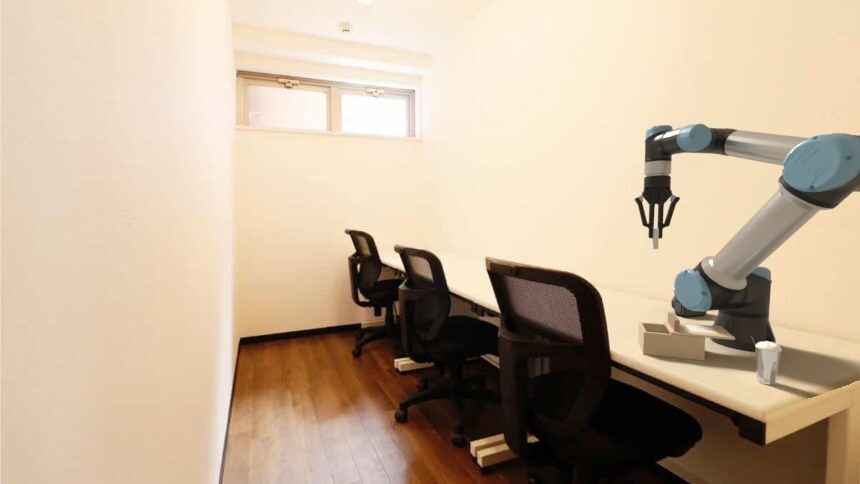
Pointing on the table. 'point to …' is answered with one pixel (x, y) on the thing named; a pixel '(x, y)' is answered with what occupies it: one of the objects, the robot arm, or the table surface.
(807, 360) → the table surface
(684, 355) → the box
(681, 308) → the camera
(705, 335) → the lid
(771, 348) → the milkshake
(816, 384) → the table surface
